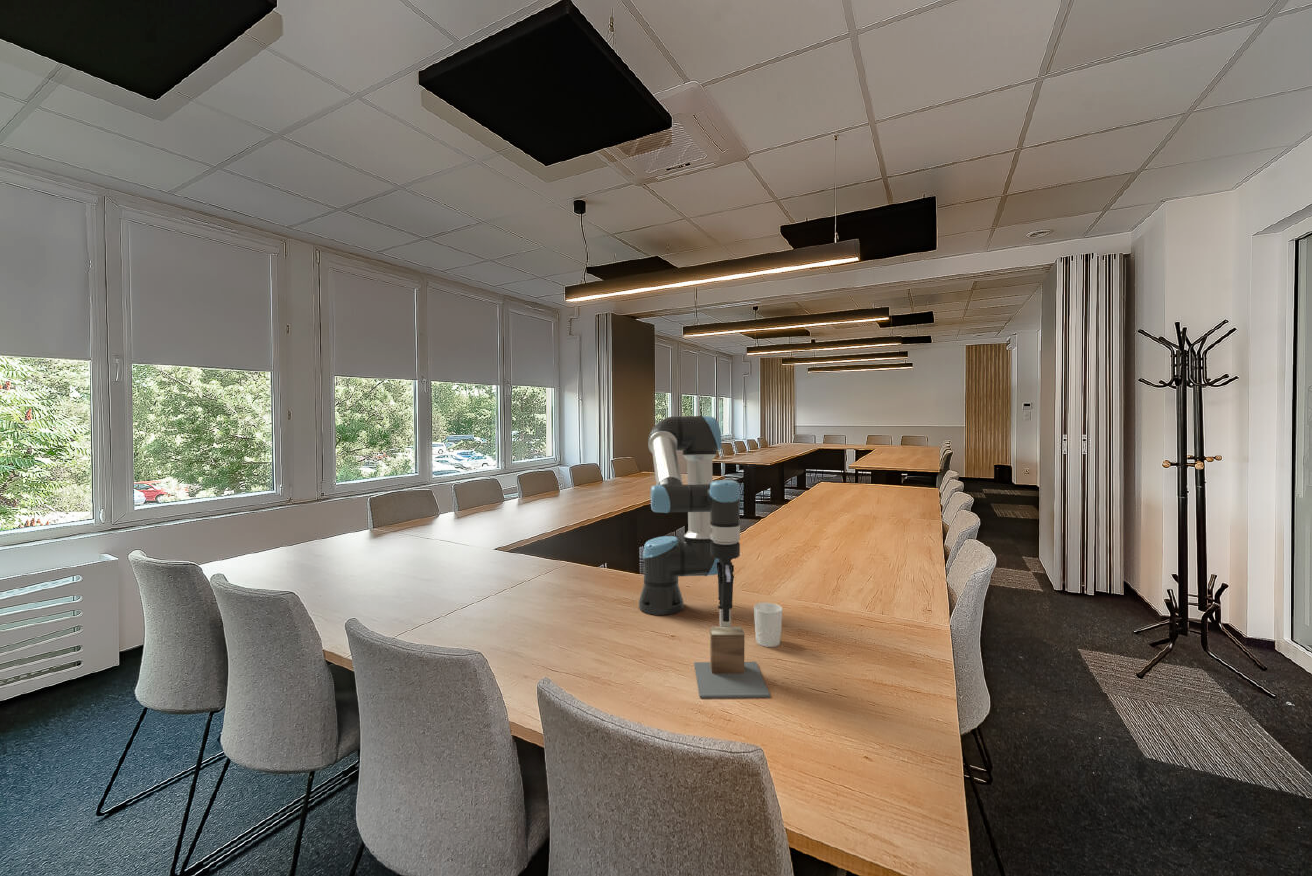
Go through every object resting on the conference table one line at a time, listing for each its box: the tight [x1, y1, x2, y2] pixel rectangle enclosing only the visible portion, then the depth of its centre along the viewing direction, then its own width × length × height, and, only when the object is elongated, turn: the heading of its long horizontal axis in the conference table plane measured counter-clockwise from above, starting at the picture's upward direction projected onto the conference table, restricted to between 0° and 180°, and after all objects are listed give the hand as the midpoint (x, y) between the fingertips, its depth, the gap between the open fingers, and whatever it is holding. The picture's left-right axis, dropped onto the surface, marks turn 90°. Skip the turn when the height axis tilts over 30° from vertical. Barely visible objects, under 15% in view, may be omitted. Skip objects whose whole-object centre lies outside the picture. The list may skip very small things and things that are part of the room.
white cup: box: [753, 602, 783, 648], centre depth 145 cm, size 8×8×10 cm
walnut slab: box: [709, 626, 745, 673], centre depth 128 cm, size 4×8×10 cm, turn 90°
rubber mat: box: [693, 661, 771, 699], centre depth 124 cm, size 16×16×1 cm
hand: (725, 632), depth 131 cm, fingers closed
